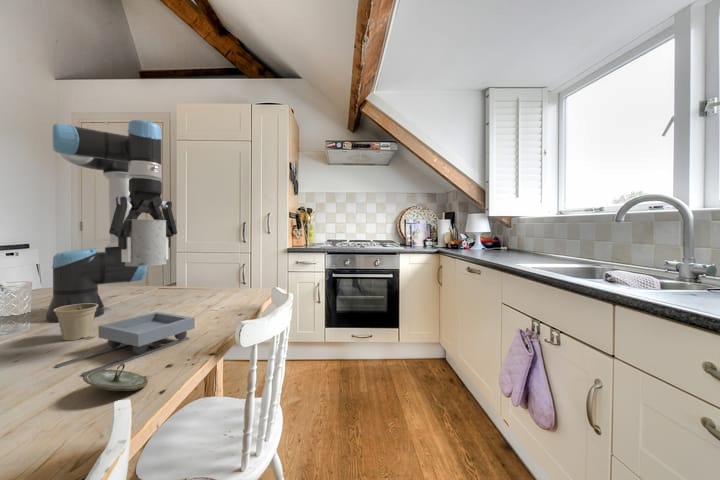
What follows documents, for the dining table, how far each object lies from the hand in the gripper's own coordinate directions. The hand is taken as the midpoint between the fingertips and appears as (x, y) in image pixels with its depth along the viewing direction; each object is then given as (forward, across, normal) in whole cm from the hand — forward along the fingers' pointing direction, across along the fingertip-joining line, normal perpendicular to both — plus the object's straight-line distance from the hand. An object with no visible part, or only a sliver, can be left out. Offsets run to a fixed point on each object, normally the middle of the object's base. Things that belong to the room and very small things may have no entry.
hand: (146, 260), depth 87 cm
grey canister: (+1, 0, 0) cm, 1 cm away
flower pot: (+22, -6, +21) cm, 31 cm away
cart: (+22, -2, -3) cm, 23 cm away
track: (+23, -6, -3) cm, 24 cm away
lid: (+23, -20, -21) cm, 37 cm away
